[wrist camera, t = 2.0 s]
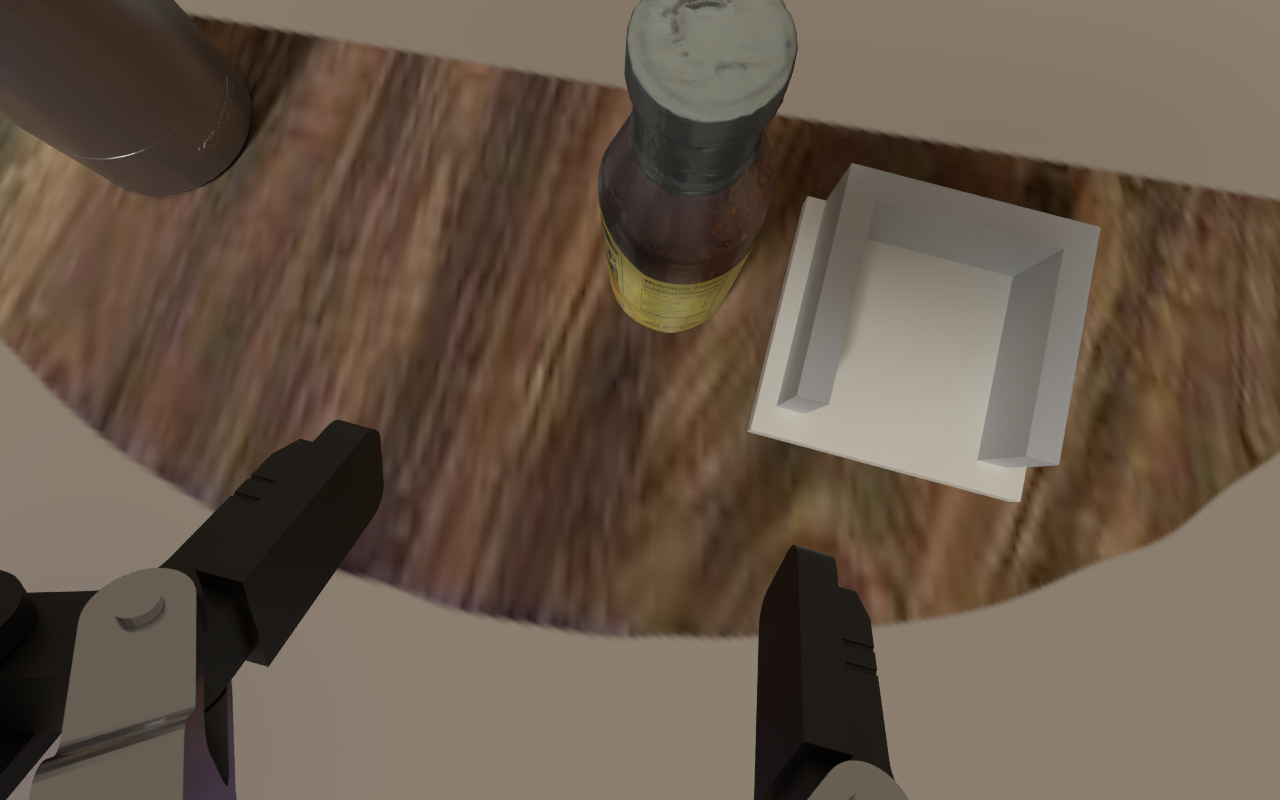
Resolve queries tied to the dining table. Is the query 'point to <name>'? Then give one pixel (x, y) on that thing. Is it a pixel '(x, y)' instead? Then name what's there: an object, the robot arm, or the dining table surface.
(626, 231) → the sauce bottle
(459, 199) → the dining table surface
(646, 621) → the dining table surface
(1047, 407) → the white open tray
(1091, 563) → the dining table surface
